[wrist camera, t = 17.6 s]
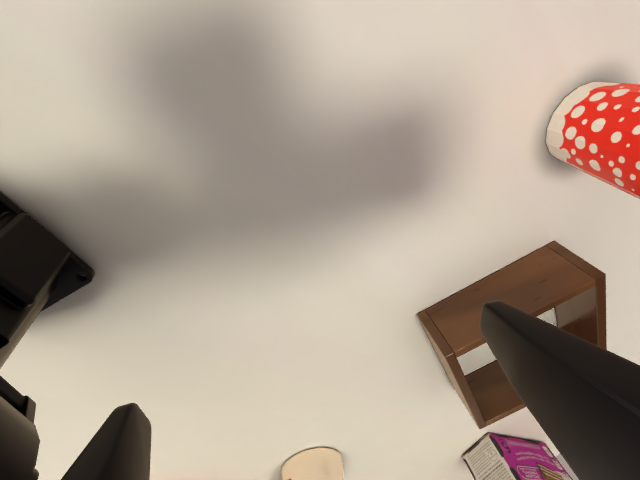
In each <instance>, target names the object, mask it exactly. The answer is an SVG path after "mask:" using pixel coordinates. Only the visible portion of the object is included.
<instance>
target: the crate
mask: <svg viewBox="0 0 640 480" xmlns="http://www.w3.org/2000/svg"><path fill="white" fill-rule="evenodd" d="M495 300H499V301H502V302H504V303H507V304H509V305H511V306H513V307H515V308H517V309H519V310H522V311H524V312H526V313H528V314H530V315H532V316H534V317H536V316H538V315H540V314H542V313H544V312H546V311H548V310H550V309H552V308H554V307H555V310H556V317H557V324H558V328H560V329H562V330H564V331H567V332H569V333H571V334H573V335H575V336H577V337H579V338H582V339H584V340H586V341H588V342H590V343H592V344H595V345H597V346H599V347H601V348H603V349H605V350H606V274H605V273H603V272H602V271H600V270H598V269H597V268H595V267H594V266H592V265H591V264H589V263H588V262H586V261H585V260H583V259H582V258H580V257H579V256H577V255H576V254H574V253H572V252H571V251H569V250H568V249H566V248H565V247H563V246H562V245H560V244H559V243H557V242H556V241H554V242H552V243H550V244H548V245H546V246H544V247H542V248H541V249H539V250H537V251H535V252H533V253H531V254H529V255H527V256H526V257H524V258H522V259H520V260H518V261H516V262H514V263H512V264H510V265H509V266H507V267H505V268H503V269H501V270H499V271H497V272H495V273H493V274H492V275H490V276H488V277H486V278H484V279H482V280H480V281H478V282H477V283H475V284H473V285H471V286H469V287H467V288H465V289H463V290H461V291H460V292H458V293H456V294H454V295H452V296H450V297H448V298H446V299H445V300H443V301H441V302H439V303H437V304H435V305H433V306H431V307H429V308H428V309H426V310H424V311H422V312H420V313H418V314H417V316H418V318H419V320H420V322H421V324H422V326H423V328H424V330H425V332H426V334H427V336H428V338H429V340H430V342H431V344H432V346H433V348H434V350H435V352H436V354H437V356H438V358H439V360H440V362H441V364H442V366H443V368H444V370H445V371H446V373H447V375H448V377H449V379H450V381H451V383H452V385H453V387H454V389H455V391H456V392H457V394H458V396H459V397H460V399H461V400H462V402H463V404H464V405H465V407H466V408H467V410H468V412H469V413H470V415H471V417H472V418H473V420H474V421H475V423H476V425H477V426H478V428H479V429H482V428H484V427H486V426H488V425H490V424H492V423H494V422H496V421H498V420H500V419H502V418H504V417H506V416H508V415H510V414H512V413H514V412H516V411H518V410H520V409H522V408H524V407H526V405H525V404H524V402H523V401H522V399H521V398H520V397H519V395H518V394H517V392H516V391H515V389H514V388H513V386H512V385H511V383H510V382H509V380H508V378H507V377H506V375H505V373H504V371H503V370H502V368H501V366H500V365H499V363H498V361H495V362H493V363H491V364H489V365H487V366H485V367H483V368H481V369H479V370H477V371H475V372H473V373H471V374H469V375H467V376H464V374H463V371H462V369H461V367H460V365H459V363H458V360H457V358H456V357H459V356H461V355H463V354H464V353H466V352H468V351H470V350H472V349H474V348H476V347H478V346H480V345H482V344H484V343H486V340H485V338H484V337H483V335H482V333H481V330H480V317H481V309H482V306H483V304H485V303H488V302H491V301H495Z"/></svg>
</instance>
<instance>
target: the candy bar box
mask: <svg viewBox="0 0 640 480" xmlns="http://www.w3.org/2000/svg"><path fill="white" fill-rule="evenodd" d="M463 459H464V461H465V463H466V464H467V466H468V468H469V470H470V472H471V474H472V476H473V477H474V479H475V480H573V479H572V478H571V477H570V476H569V474H568V473H567V472H566V470H565V469H564V468H563V467H562V465H561V464H560V463H559V461H558V460H557V459H556V457H555V456H554V455H553V453H552V452H551V451H550V449H549V448H548V447H547V445H546V444H545V443H540V442H534V441H528V440H522V439H517V438H511V437H506V436H500V435H495V434H490V433H488V434H486V435H485V436H483V437H482V438H481V439H480V440H479V441H478V442H477V443H476V444H475V445H474V446H473V447H472V448H471V449H470V450H469V451H468V452H467V453H465V454H464V455H463Z"/></svg>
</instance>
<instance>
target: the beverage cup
mask: <svg viewBox="0 0 640 480" xmlns="http://www.w3.org/2000/svg"><path fill="white" fill-rule="evenodd" d="M546 144H547V147H548V149H549V152H550V154H551V155H553V156H554V157H556V158H557V159H559V160H561V161H563V162H565V163H567V164H569V165H571V166H573V167H575V168H577V169H579V170H581V171H583V172H585V173H587V174H589V175H592V176H594V177H596V178H598V179H600V180H602V181H604V182H606V183H608V184H610V185H612V186H614V187H616V188H618V189H620V190H622V191H624V192H626V193H628V194H630V195H632V196H635V197H637V198H639V199H640V85H639V84H623V83H607V82H591V83H588V84H586V85H583V86H580V87H578V88H577V89H576V90H574V91H573V92H572V93H571V94H569V95H568V96H567V97H565V98H564V100H563V101H562V102H561V104H560V105H559V106H558V108H557V109H556V110H555V112H554V113H553V115H552V118H551V120H550V123H549V125H548V128H547V136H546Z"/></svg>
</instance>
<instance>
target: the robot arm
mask: <svg viewBox="0 0 640 480" xmlns="http://www.w3.org/2000/svg"><path fill="white" fill-rule="evenodd" d="M79 273H83V274H85V275H86V277H85V276H81V275H80V274H79ZM94 274H95V273H94V270H93V269H92V268H91V267H90V266H88V265H87V264H86V263H85V262H84V261H82V260H81V259H80V258H79V257H78V256H76V255H75V254H74V253H73V252H72V251H70V249H69V248H68V247H67V246H65V245H64V244H63V243H62V242H61V241H59V240H58V239H57V238H56V237H55V236H53V235H52V234H51V233H50V232H49V231H47V230H46V229H45V228H44V227H43V226H41V225H40V224H39V223H38V222H37V221H35V220H34V219H33V218H32V217H31V216H29V215H27V214H26V213H25V212H24V211H23V210H21V209H20V208H19V207H18V206H17V205H15V204H14V203H13V202H12V201H11V200H9V199H8V198H7V197H6V196H5V195H3V194H2V193H1V192H0V369H1V367H2V366H3V364H4V363H5V361H6V360H7V358H8V357H9V356H10V354H11V353H12V351H13V350H14V348H15V347H16V345H17V344H18V343H19V341H20V340H21V338H22V337H23V335H24V334H25V332H26V331H27V330H28V328H29V327H30V325H31V324H32V322H33V321H34V319H35V318H36V316H37V315H38V314H39V312H41V311H42V310H44V309H46V308H47V307H49V306H51V305H52V304H54V303H56V302H58V301H59V300H61V299H63V298H64V297H66V296H68V295H70V294H71V293H73V292H75V291H76V290H78V289H80V288H81V287H83V286H85V285H87V284H88V283H90V282H91V281H92V279H93V277H94ZM480 330H481V333H482V335H483V337H484V338H485V340H486V342H487V344H488V345H489V347H490V349H491V351H492V352H493V354H494V356H495V358H496V359H497V361H498V363H499V365H500V366H501V368H502V370H503V371H504V373H505V375H506V377H507V378H508V380H509V382H510V383H511V385H512V386H513V388H514V389H515V391H516V392H517V394H518V395H519V397H520V398H521V399H522V401H523V402H524V404H525V405H526V406H527V408H528V409H529V410H530V412H531V413H532V415H533V416H534V417H535V419H536V420H537V422H538V423H539V424H540V426H541V427H542V429H543V430H544V431H545V433H546V434H547V436H548V437H549V438H550V440H551V441H552V442H553V444H554V445H555V447H556V448H557V449H558V451H559V452H560V454H561V455H562V456H563V458H564V459H565V460H566V462H567V463H568V464H569V466H570V468H571V469H572V470H573V472H574V473H575V474H576V476H577V477H578V479H579V480H640V365H637V364H635V363H633V362H631V361H629V360H627V359H625V358H622V357H620V356H618V355H616V354H614V353H612V352H610V351H607V350H605V349H603V348H601V347H599V346H597V345H595V344H592V343H590V342H588V341H586V340H584V339H582V338H579V337H577V336H575V335H573V334H571V333H569V332H567V331H564V330H562V329H560V328H558V327H556V326H554V325H552V324H549V323H547V322H545V321H543V320H541V319H539V318H537V317H534V316H532V315H530V314H528V313H526V312H524V311H522V310H519V309H517V308H515V307H513V306H511V305H509V304H507V303H504V302H502V301H499V300H495V301H491V302H488V303H485V304H483V306H482V309H481V317H480ZM35 408H36V403H35V402H34V401H33V400H32V399H30V398H29V397H28V396H23V395H21V394H20V393H19V392H18V391H17V390H16V389H15V388H14V387H12V386H11V385H10V384H9V383H8V382H7V381H6V380H5V379H3V378H2V377H1V376H0V480H37V479H38V476H39V472H38V471H37V470H36V469H35V465H36V460H37V454H38V449H39V443H40V439H39V436H38V433H37V430H36V427H35V425H34V416H35ZM150 452H151V424H150V421H149V419H148V418H147V417H146V416H145V414H144V413H143V412H142V410H141V409H140V408H139V406H138V405H137V404H135V403H130V404H126V405H123V406H119V407H117V408H116V409H115V410H114V411H113V412H112V413H111V414H110V416H109V417H108V418H107V420H106V421H105V422H104V424H103V425H102V426H101V428H100V429H99V430H98V432H97V433H96V434H95V435H94V437H93V438H92V439H91V441H90V442H89V443H88V445H87V446H86V447H85V449H84V450H83V451H82V453H81V454H80V455H79V456H78V458H77V459H76V460H75V462H74V463H73V464H72V466H71V467H70V468H69V470H68V471H67V472H66V474H65V475H64V476H63V478H62V479H61V480H149V477H150Z"/></svg>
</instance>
